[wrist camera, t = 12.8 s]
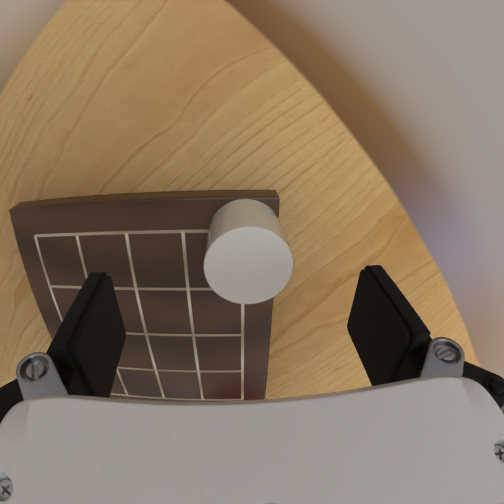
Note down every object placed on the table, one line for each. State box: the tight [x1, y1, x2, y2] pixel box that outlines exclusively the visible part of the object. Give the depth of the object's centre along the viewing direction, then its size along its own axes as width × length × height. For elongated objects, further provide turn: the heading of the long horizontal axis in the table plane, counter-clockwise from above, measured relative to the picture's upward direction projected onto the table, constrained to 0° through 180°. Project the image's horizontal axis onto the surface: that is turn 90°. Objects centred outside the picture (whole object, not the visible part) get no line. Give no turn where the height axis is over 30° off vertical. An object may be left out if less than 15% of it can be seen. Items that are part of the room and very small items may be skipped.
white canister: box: [204, 199, 293, 304], centre depth 16 cm, size 4×4×4 cm
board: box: [9, 190, 279, 402], centre depth 22 cm, size 20×18×2 cm
